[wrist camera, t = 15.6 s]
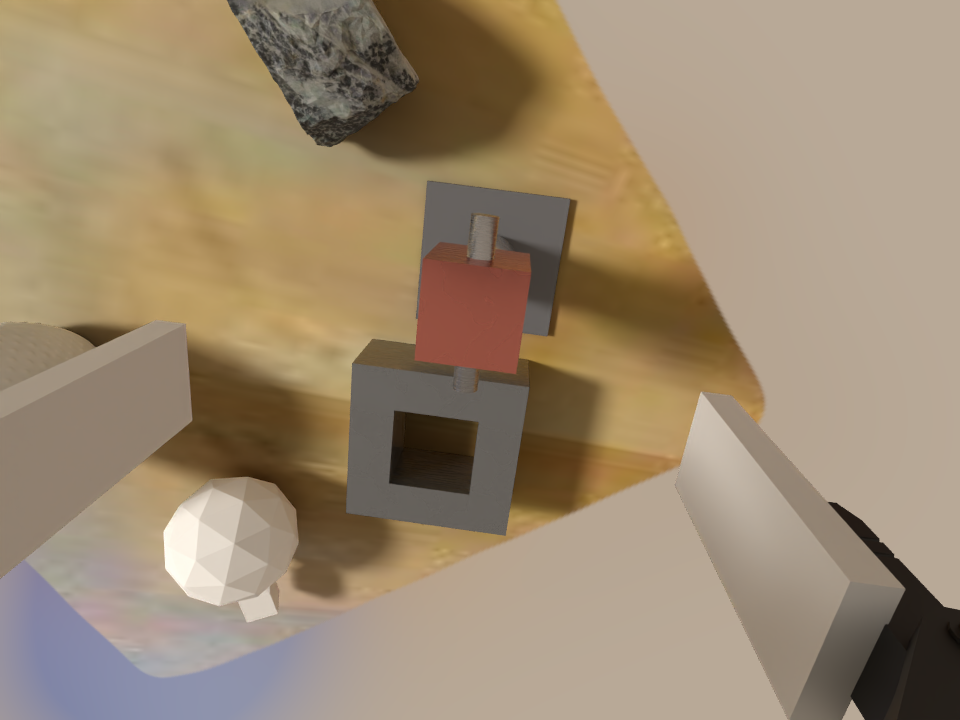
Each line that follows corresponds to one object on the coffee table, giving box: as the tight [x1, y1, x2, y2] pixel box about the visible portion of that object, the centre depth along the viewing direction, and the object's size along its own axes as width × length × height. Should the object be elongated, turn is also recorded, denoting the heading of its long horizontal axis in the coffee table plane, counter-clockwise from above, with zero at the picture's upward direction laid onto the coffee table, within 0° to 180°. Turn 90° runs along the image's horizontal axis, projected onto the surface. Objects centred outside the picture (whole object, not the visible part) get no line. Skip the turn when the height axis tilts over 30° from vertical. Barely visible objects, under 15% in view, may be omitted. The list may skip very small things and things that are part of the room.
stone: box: [227, 0, 419, 147], centre depth 30 cm, size 10×10×10 cm
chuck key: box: [415, 213, 531, 393], centre depth 30 cm, size 8×4×14 cm, turn 173°
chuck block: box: [346, 339, 529, 536], centre depth 38 cm, size 11×11×5 cm
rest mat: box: [416, 181, 570, 336], centre depth 37 cm, size 9×9×1 cm
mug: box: [0, 322, 96, 391], centre depth 35 cm, size 15×11×13 cm
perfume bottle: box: [164, 477, 299, 622], centre depth 41 cm, size 9×9×12 cm
